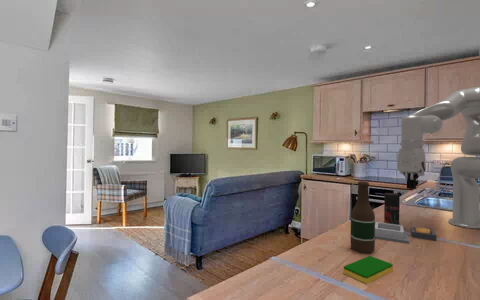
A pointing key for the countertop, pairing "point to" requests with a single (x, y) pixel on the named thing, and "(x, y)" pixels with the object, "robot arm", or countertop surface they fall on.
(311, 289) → the countertop surface
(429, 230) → the button
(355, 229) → the beer bottle
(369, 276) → the dish sponge
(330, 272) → the countertop surface
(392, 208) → the deodorant
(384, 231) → the grey rectangular tray
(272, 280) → the countertop surface
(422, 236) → the button housing
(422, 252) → the countertop surface
